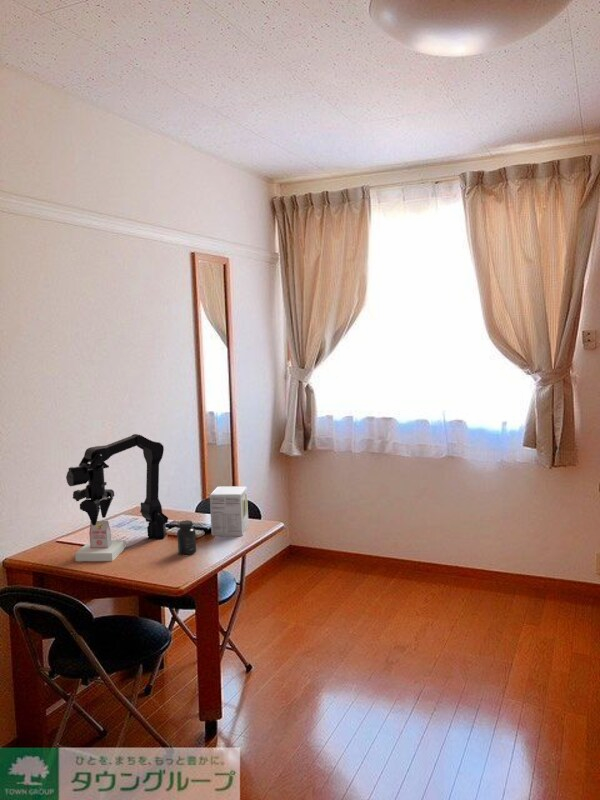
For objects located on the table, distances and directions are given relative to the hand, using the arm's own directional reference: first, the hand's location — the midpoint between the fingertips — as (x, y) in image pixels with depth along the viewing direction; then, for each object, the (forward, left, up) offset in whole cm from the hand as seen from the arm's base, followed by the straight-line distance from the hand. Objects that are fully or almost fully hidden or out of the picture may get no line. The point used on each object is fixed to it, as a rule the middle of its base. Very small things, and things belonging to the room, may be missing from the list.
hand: (99, 521), depth 228 cm
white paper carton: (0, 0, -10) cm, 10 cm away
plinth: (0, 0, -13) cm, 13 cm away
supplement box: (-45, -26, -13) cm, 54 cm away
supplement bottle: (-33, -1, -13) cm, 36 cm away
